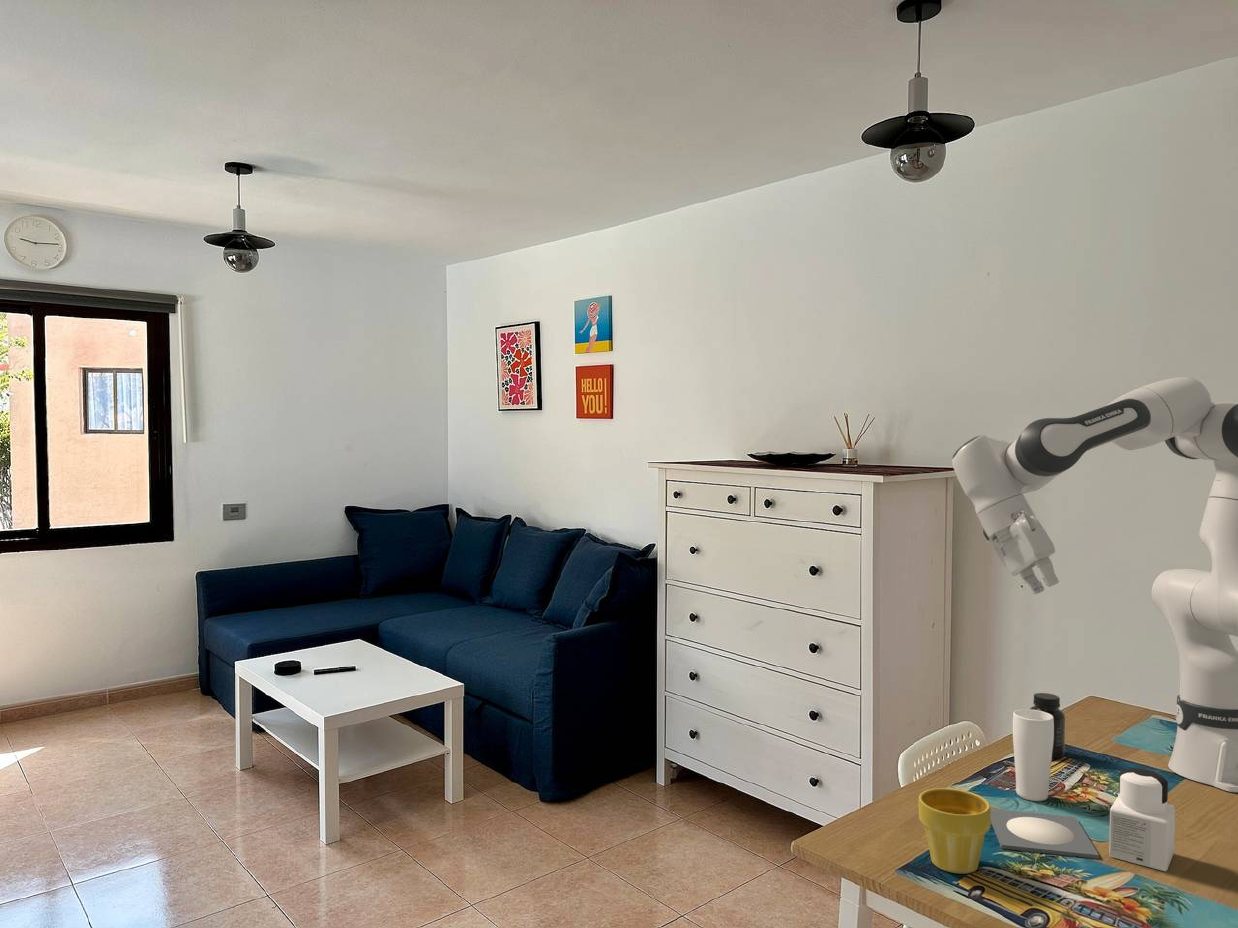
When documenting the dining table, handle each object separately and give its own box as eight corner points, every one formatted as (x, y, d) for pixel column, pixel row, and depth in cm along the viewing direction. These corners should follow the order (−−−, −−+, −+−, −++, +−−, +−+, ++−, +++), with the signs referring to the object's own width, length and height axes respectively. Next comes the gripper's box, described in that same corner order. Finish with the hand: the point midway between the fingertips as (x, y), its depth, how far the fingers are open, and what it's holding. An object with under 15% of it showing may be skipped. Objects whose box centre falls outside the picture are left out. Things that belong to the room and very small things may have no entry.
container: (1118, 839, 142) (1119, 760, 141) (1174, 853, 137) (1176, 771, 136) (1108, 857, 136) (1110, 774, 135) (1166, 872, 131) (1168, 787, 130)
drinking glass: (1057, 805, 155) (1059, 721, 154) (1016, 802, 156) (1017, 719, 156) (1046, 790, 161) (1048, 709, 161) (1007, 787, 163) (1008, 707, 162)
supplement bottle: (1020, 751, 181) (1021, 694, 181) (1041, 745, 185) (1042, 689, 184) (1050, 762, 175) (1051, 702, 175) (1071, 756, 178) (1072, 698, 178)
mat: (1075, 820, 149) (1075, 816, 149) (1099, 858, 135) (1099, 854, 135) (986, 811, 152) (987, 808, 152) (1001, 848, 139) (1001, 844, 138)
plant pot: (903, 855, 136) (903, 793, 136) (953, 842, 140) (954, 782, 140) (953, 886, 127) (954, 819, 127) (1005, 872, 131) (1006, 807, 131)
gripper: (1038, 499, 151) (1081, 572, 146) (1011, 524, 170) (1048, 590, 165) (1004, 513, 151) (1045, 587, 146) (981, 536, 170) (1016, 602, 166)
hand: (1046, 588), depth 156 cm, fingers open, 8 cm apart
